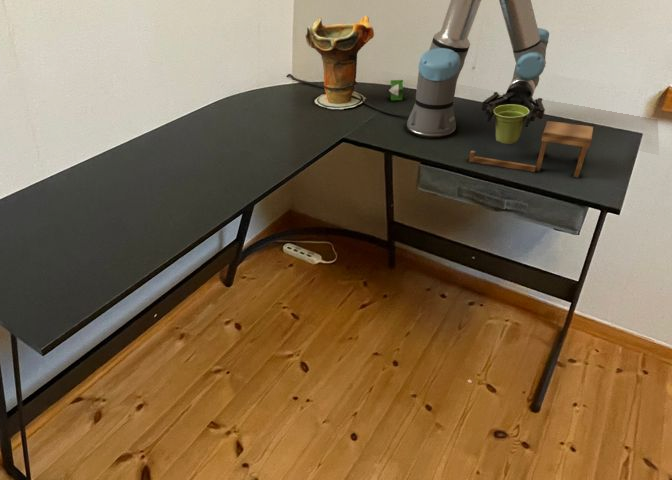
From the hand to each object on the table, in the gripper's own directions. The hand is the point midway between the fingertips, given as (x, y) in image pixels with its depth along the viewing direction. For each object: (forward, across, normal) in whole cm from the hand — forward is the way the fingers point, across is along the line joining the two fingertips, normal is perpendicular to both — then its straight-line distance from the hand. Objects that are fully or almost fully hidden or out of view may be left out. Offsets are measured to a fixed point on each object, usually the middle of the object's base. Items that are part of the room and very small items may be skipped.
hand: (508, 119), depth 165 cm
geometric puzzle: (-38, +42, -14) cm, 58 cm away
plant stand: (-4, -7, -13) cm, 15 cm away
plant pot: (-4, -1, -8) cm, 9 cm away
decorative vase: (-29, +61, -14) cm, 69 cm away
